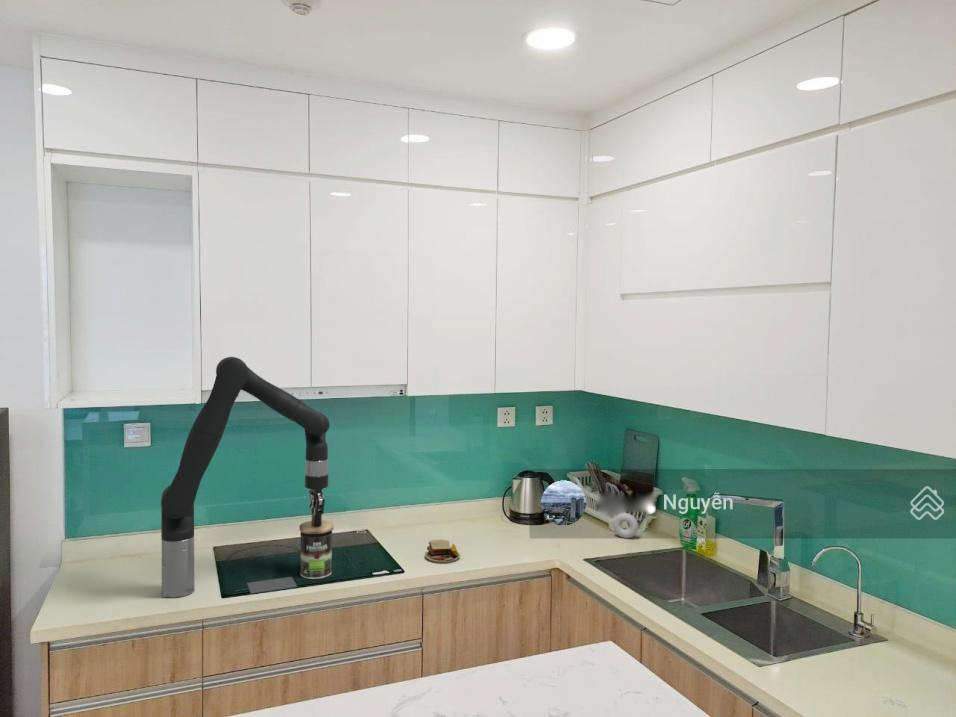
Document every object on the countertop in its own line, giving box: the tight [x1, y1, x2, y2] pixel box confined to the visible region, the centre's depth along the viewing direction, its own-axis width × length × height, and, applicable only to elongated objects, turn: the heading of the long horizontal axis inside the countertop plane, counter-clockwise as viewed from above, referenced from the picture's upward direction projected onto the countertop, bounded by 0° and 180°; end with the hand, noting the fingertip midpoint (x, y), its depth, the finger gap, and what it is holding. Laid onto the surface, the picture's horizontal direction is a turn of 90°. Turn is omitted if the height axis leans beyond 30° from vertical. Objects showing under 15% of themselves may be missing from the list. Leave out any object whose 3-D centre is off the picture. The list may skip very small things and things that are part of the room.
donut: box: [612, 512, 639, 539], centre depth 272 cm, size 10×4×10 cm, turn 66°
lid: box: [298, 512, 335, 534], centre depth 228 cm, size 11×11×5 cm
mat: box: [246, 576, 298, 594], centre depth 218 cm, size 14×9×1 cm, turn 115°
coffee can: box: [299, 530, 333, 580], centre depth 228 cm, size 10×10×14 cm
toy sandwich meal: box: [424, 539, 461, 564], centre depth 247 cm, size 12×14×5 cm
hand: (316, 524), depth 228 cm, fingers open, 3 cm apart
